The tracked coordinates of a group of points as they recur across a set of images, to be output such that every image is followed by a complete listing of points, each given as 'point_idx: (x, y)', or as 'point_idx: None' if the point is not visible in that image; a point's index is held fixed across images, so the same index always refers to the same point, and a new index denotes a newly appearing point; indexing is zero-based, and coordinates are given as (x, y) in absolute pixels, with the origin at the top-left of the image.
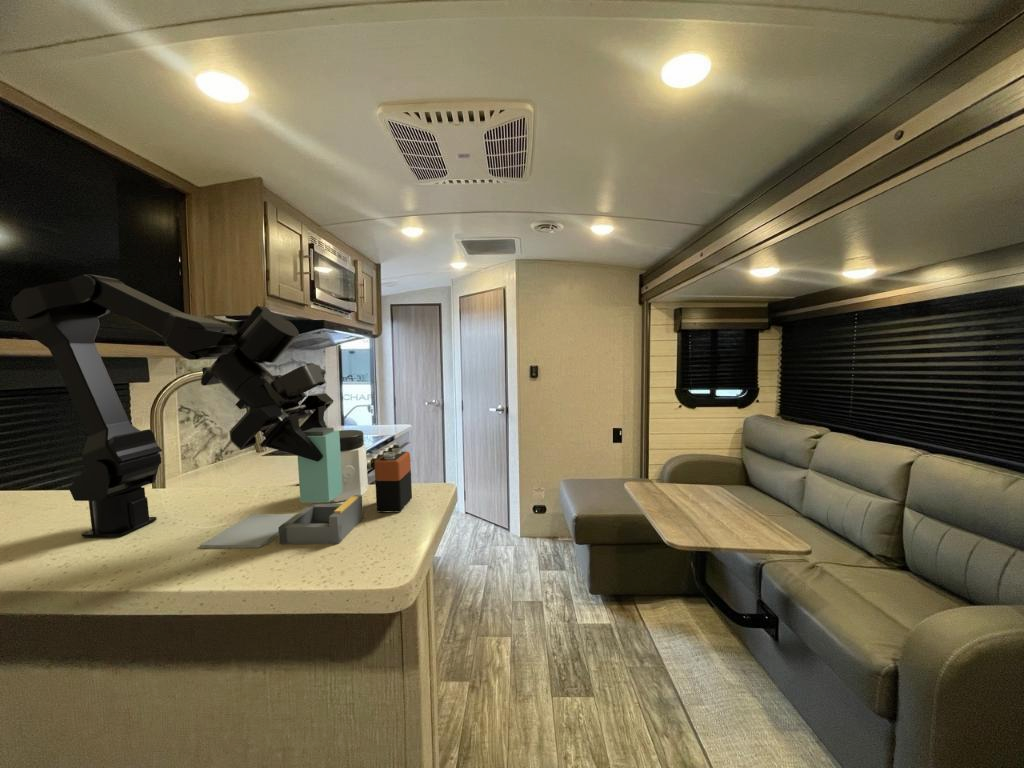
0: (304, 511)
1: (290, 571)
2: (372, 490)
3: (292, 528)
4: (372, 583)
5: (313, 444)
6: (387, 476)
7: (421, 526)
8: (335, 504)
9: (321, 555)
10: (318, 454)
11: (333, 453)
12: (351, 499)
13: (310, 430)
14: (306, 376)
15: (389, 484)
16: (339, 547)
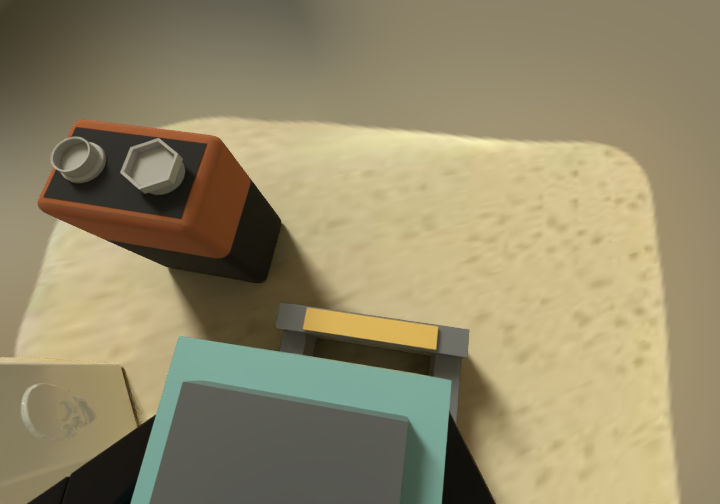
0: None
1: (597, 415)
2: (66, 341)
3: None
4: (641, 210)
5: (449, 491)
6: (235, 205)
7: (379, 157)
8: None
9: (516, 362)
10: (457, 427)
11: (339, 361)
12: (334, 320)
13: None
14: None
15: (248, 211)
16: (475, 328)
